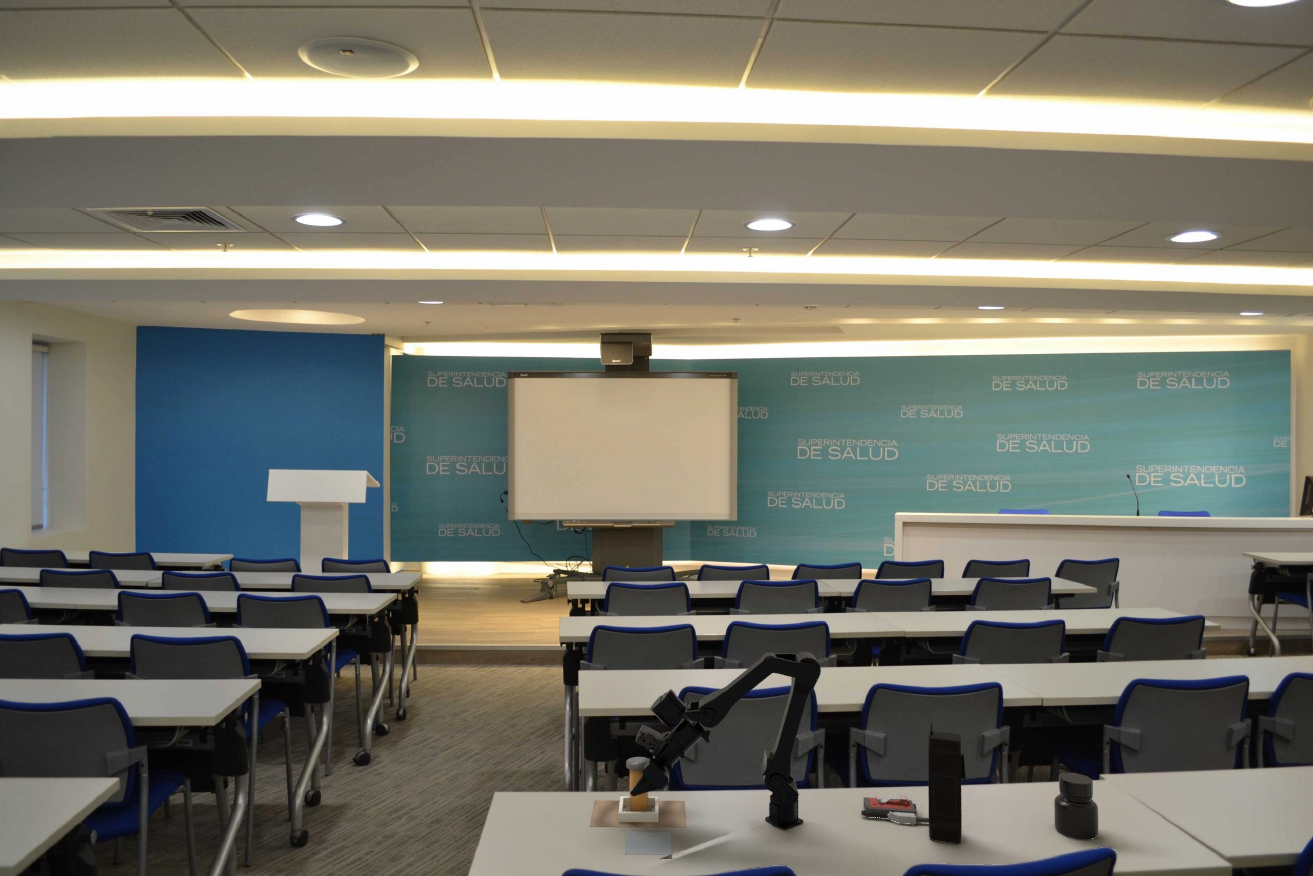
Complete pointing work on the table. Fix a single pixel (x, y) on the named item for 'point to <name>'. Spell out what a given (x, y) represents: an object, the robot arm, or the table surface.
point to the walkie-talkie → (892, 809)
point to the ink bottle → (1076, 807)
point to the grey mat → (649, 843)
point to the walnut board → (667, 817)
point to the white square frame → (637, 815)
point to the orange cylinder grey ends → (639, 801)
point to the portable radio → (945, 786)
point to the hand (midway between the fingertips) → (633, 786)
